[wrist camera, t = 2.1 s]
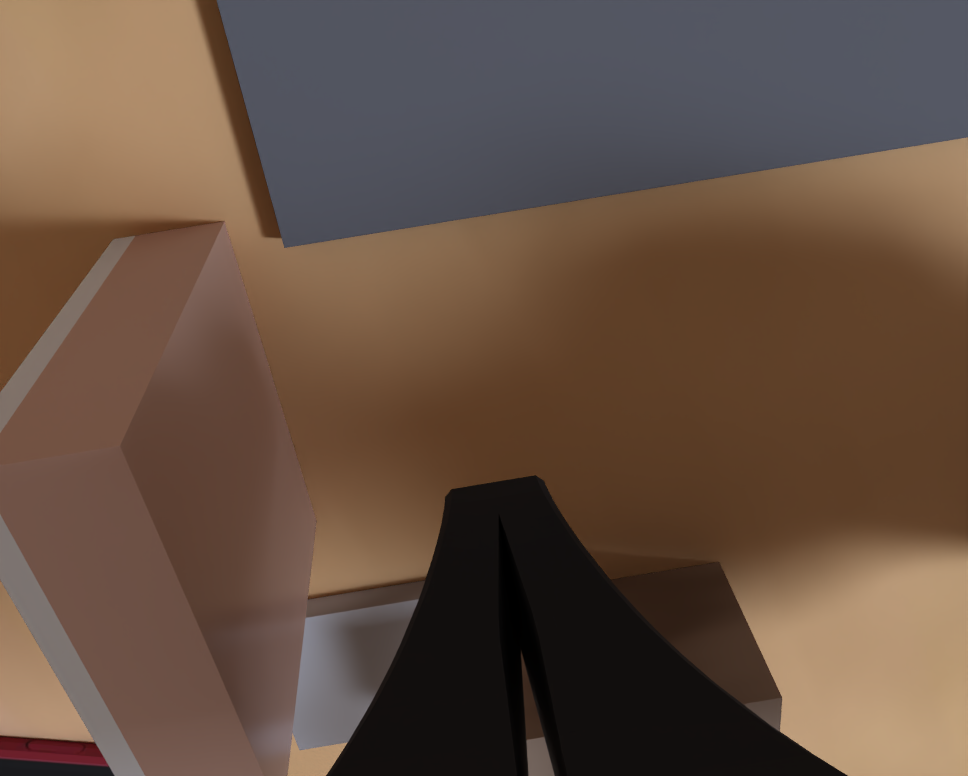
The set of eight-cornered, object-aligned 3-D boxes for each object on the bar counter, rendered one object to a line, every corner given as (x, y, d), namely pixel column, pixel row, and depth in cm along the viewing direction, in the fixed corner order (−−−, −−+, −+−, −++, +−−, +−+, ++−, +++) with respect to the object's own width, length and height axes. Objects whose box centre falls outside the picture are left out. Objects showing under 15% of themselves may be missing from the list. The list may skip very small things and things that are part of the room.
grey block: (719, 531, 20) (784, 665, 17) (717, 661, 23) (774, 802, 19) (254, 607, 20) (227, 757, 17) (301, 730, 23) (285, 883, 19)
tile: (224, 220, 16) (119, 446, 10) (316, 520, 19) (282, 818, 13) (113, 238, 16) (-62, 474, 10) (226, 535, 19) (152, 839, 13)
